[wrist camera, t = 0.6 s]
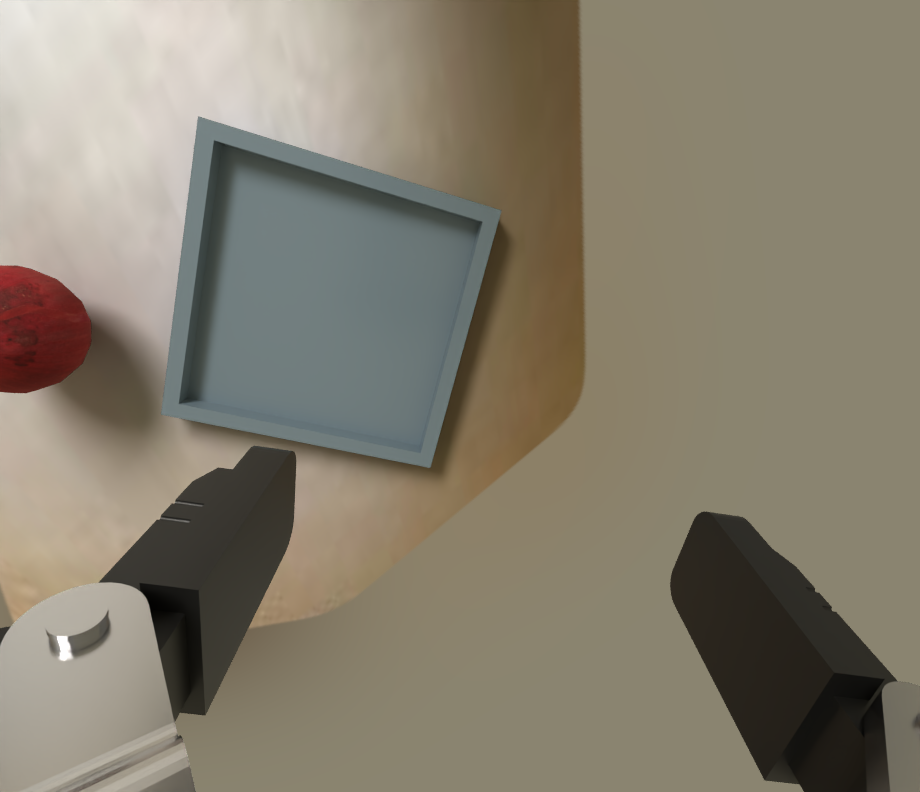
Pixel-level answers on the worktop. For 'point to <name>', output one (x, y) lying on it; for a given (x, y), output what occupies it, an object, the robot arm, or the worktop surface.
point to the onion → (39, 330)
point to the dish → (320, 298)
